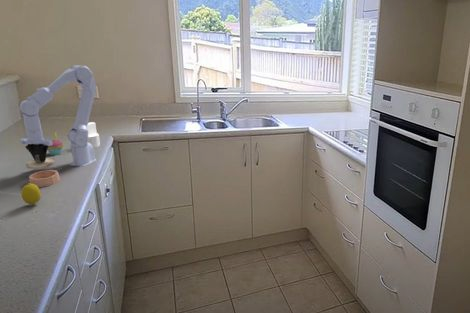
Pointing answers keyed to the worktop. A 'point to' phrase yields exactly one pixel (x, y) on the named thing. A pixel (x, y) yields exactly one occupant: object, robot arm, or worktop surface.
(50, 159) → the lid
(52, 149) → the cupcake
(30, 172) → the mat
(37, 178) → the bowl
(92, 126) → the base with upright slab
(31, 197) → the lemon
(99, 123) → the worktop surface
